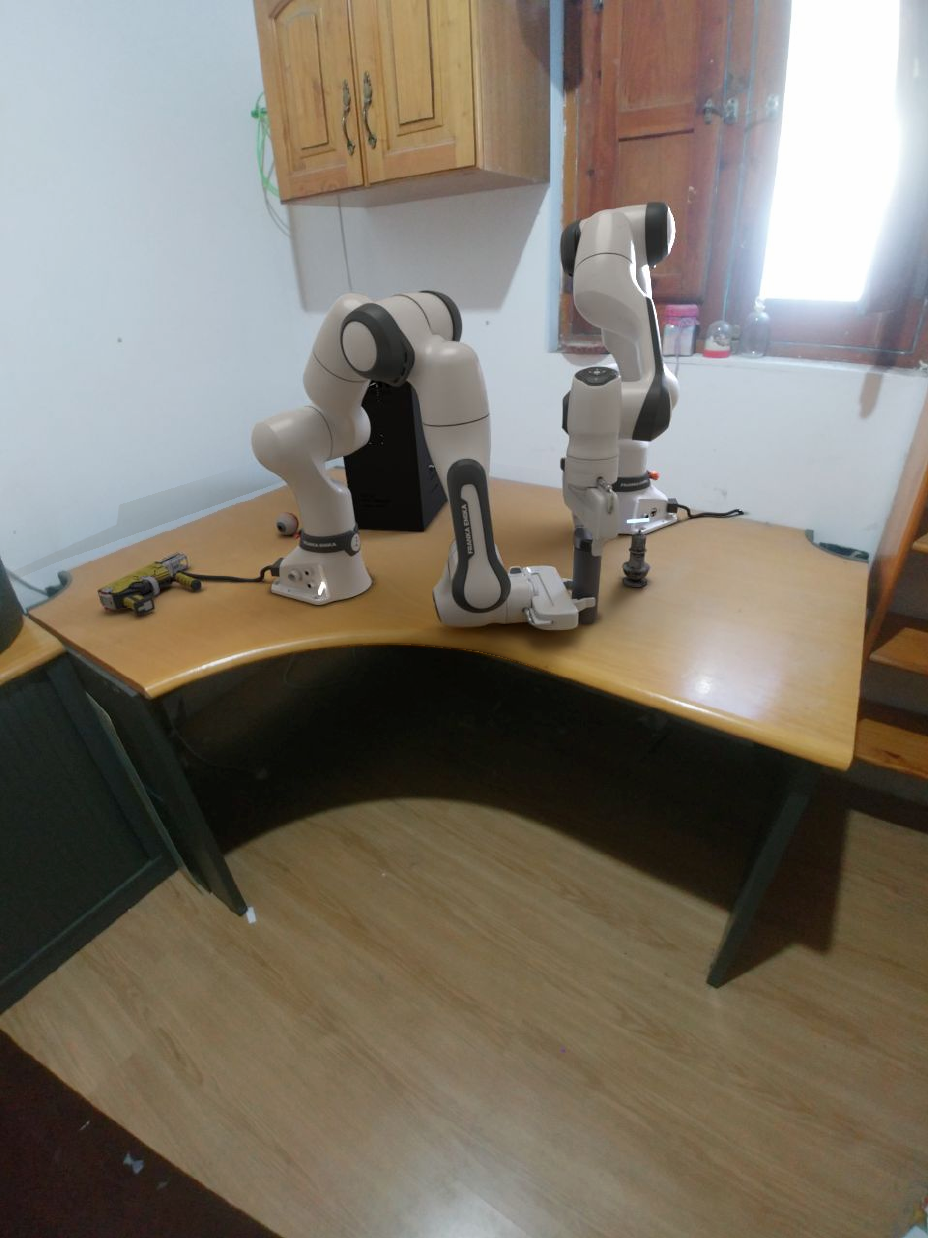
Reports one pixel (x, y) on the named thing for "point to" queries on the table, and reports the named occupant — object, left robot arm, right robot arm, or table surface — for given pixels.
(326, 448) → the left robot arm
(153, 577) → the toy gun
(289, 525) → the eyeball
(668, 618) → the table surface
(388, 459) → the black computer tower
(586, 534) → the lid
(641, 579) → the dark grey chess piece
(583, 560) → the grey tall cylinder
